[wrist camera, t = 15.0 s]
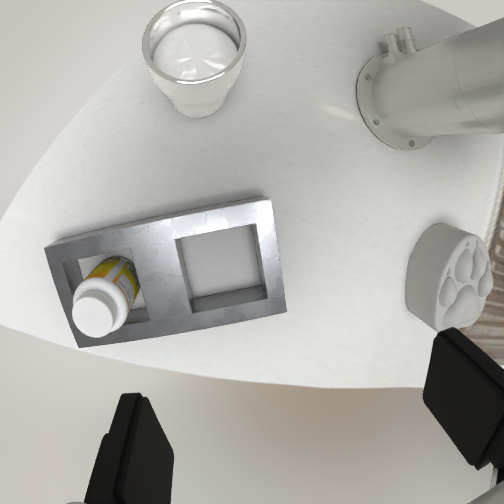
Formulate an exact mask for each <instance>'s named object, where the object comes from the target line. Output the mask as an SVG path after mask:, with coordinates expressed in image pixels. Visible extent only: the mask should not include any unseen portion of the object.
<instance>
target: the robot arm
mask: <svg viewBox="0 0 504 504" xmlns="http://www.w3.org/2000/svg"><path fill="white" fill-rule="evenodd" d="M397 32H398V35H399V39H400V42H401V44H402V48H403V51H402V52H401V51H399V48H398V42H397V39H396V35H395V34H387V35H385V39H386V43H387V45H388V48H389V52H388V53H385V54H382V55H379V56H376V57H375V58H373V59H371V60H370V61H369V62H368V63H367V64H366V65H365V66H364V67H363V69H362V70H361V73H360V75H359V78H358V83H357V99H358V104H359V108H360V111H361V114H362V116H363V118H364V120H365V122H366V124H367V125H368V127H369V128H370V129H371V131H372V132H373V133H374V134H375V135H376V136H377V137H378V138H379V139H380V140H381V141H383V142H384V143H386V144H387V145H389V146H392V147H394V148H397V149H401V150H414V149H419V148H421V147H424V146H425V145H427V144H428V143H429V142H430V141H431V140H432V139H433V138H434V137H435V136H439V135H459V134H499V133H504V18H501V19H499V20H496V21H494V22H491V23H489V24H486V25H483V26H481V27H478V28H475V29H473V30H470V31H467V32H465V33H462V34H460V35H457V36H454V37H452V38H449V39H447V40H444V41H442V42H439V43H437V44H434V45H432V46H429V47H427V48H425V49H422V50H420V51H419V50H416V46H415V43H414V42H415V40H414V36H413V33H412V29H411V28H409V27H402V28H399V29H397ZM365 78H366V79H365ZM373 122H374V123H373ZM423 400H424V403H425V405H426V406H427V407H428V409H429V410H430V411H431V413H432V414H433V415H434V417H435V418H436V419H437V421H438V422H439V423H440V425H441V426H442V427H443V429H444V430H445V432H446V433H447V434H448V436H449V437H450V438H451V440H452V441H453V443H454V444H455V445H456V447H457V448H458V450H459V451H460V452H461V454H462V455H463V456H464V458H465V459H466V461H467V462H468V463H469V464H470V465H472V466H473V465H474V466H475V468H476V469H477V470H479V469H481V468H483V467H484V466H486V465H487V464H489V463H490V462H491V463H492V464H493V466H494V467H493V473H492V480H491V486H490V490H489V491H487V492H486V493H484V494H482V495H481V496H479V497H478V498H476V499H474V500H473V501H471V502H469V503H468V504H504V369H503V368H502V367H500V366H499V365H498V364H497V363H496V362H495V361H494V360H493V359H491V358H490V357H489V356H488V355H487V354H486V353H485V352H483V351H482V350H481V349H480V348H479V347H478V346H477V345H475V344H474V343H473V342H472V341H471V340H469V339H468V338H467V337H466V336H465V335H464V334H462V333H461V332H460V331H459V330H458V329H456V328H455V327H450V328H448V329H445V330H442V331H440V332H438V334H437V336H436V337H435V338H434V341H433V347H432V352H431V358H430V363H429V368H428V373H427V378H426V382H425V387H424V391H423ZM173 465H174V453H173V449H172V447H171V445H170V443H169V441H168V440H167V437H166V435H165V433H164V431H163V429H162V427H161V425H160V423H159V421H158V419H157V417H156V415H155V412H154V410H153V408H152V406H151V404H150V401H149V399H148V398H147V397H143V396H142V395H141V393H124V394H122V395H121V397H120V400H119V403H118V405H117V409H116V412H115V415H114V418H113V421H112V424H111V427H110V430H109V433H107V434H105V435H104V437H103V439H102V441H101V445H100V448H99V451H98V454H97V458H96V461H95V465H94V468H93V471H92V475H91V478H90V481H89V485H88V489H87V492H86V496H85V500H84V503H82V502H71V503H67V504H170V502H171V488H172V476H173Z"/></svg>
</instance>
